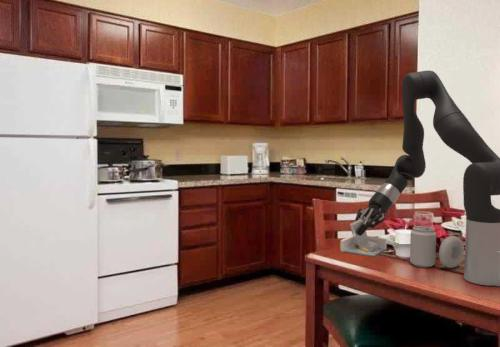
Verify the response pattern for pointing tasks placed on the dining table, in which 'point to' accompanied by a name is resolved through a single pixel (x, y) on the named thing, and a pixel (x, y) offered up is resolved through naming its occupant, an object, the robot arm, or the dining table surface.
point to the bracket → (362, 238)
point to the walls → (380, 242)
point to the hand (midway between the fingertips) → (356, 233)
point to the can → (423, 246)
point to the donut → (457, 252)
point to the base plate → (361, 252)
